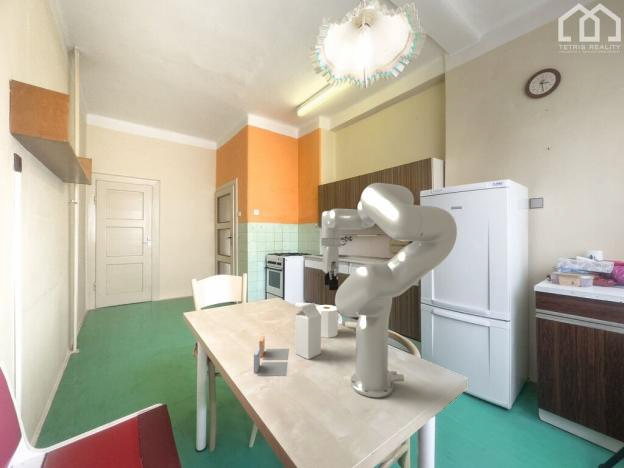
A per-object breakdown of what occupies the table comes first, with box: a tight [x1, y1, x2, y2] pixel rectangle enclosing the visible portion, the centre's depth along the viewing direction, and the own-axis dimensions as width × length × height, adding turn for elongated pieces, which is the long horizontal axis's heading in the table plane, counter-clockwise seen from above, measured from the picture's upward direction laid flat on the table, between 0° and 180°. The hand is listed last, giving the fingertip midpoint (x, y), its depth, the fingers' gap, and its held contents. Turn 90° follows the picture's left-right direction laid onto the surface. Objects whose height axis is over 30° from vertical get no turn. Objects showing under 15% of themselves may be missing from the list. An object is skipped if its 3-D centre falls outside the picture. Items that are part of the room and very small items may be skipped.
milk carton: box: [294, 302, 322, 360], centre depth 101 cm, size 7×7×19 cm
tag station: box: [253, 335, 290, 377], centre depth 95 cm, size 11×20×6 cm, turn 2°
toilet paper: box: [315, 304, 339, 339], centre depth 122 cm, size 10×10×12 cm
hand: (330, 287), depth 101 cm, fingers open, 9 cm apart
